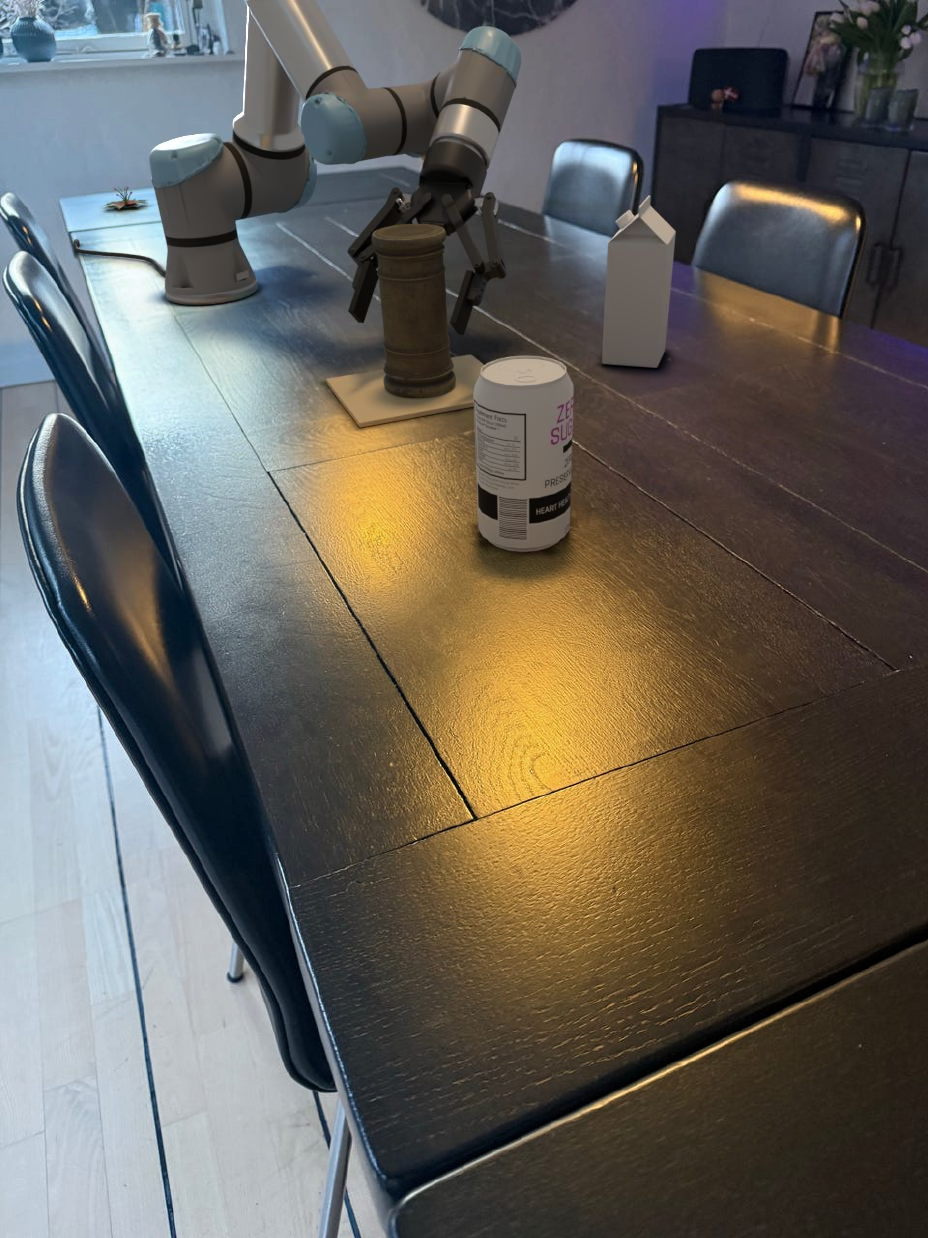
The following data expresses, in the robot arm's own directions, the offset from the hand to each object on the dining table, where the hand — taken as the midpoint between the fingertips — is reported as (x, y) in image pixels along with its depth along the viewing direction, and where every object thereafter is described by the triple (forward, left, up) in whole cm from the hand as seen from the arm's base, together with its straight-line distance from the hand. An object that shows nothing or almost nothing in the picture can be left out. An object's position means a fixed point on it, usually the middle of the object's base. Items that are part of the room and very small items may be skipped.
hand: (404, 323), depth 104 cm
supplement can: (+36, -1, -9) cm, 38 cm away
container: (-2, +2, -9) cm, 9 cm away
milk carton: (0, +31, -9) cm, 32 cm away
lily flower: (-156, -23, -9) cm, 157 cm away
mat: (-2, +2, -9) cm, 9 cm away
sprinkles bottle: (-138, +51, -9) cm, 147 cm away
